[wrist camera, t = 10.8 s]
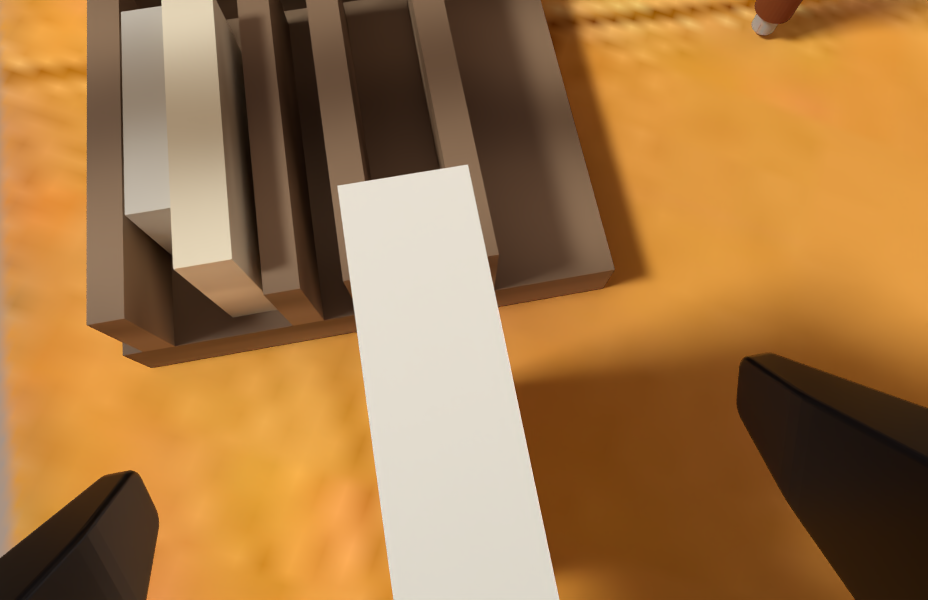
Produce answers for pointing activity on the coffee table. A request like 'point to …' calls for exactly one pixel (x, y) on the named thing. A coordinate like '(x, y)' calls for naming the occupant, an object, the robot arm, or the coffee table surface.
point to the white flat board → (441, 394)
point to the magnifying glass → (772, 14)
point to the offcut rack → (313, 159)
